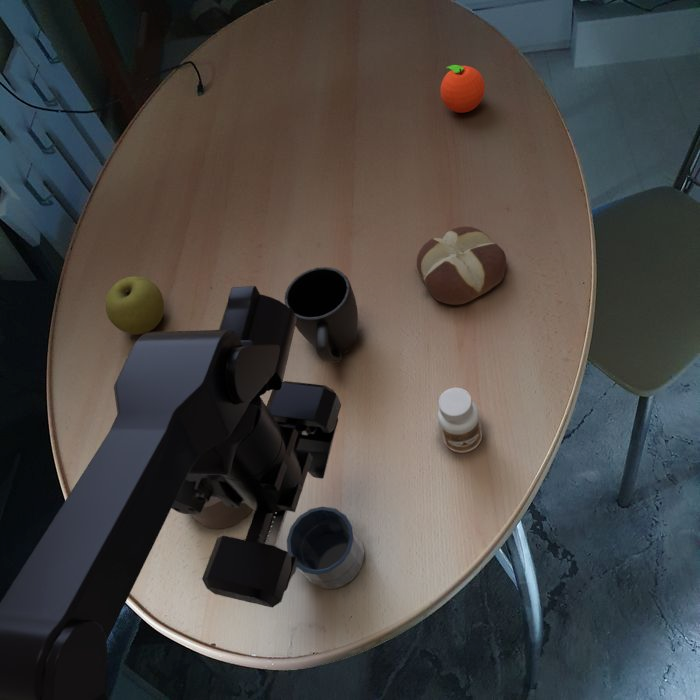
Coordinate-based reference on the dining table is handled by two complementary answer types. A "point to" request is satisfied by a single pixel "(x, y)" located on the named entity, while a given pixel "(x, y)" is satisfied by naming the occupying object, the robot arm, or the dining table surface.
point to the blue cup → (325, 547)
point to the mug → (324, 311)
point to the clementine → (462, 88)
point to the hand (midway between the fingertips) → (305, 521)
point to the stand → (221, 514)
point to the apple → (135, 305)
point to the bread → (461, 265)
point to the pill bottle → (459, 420)
